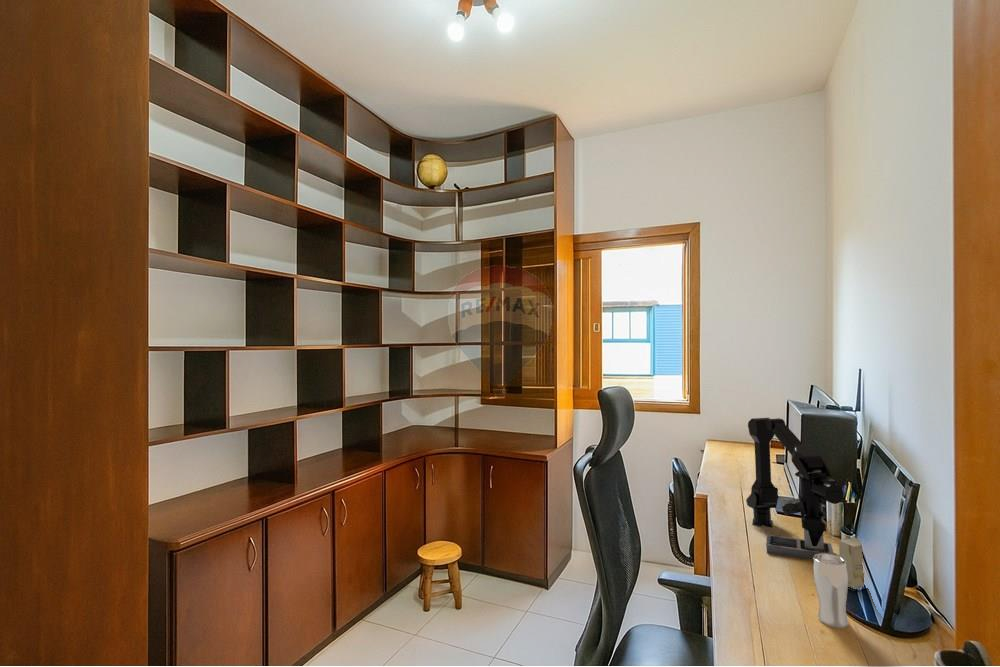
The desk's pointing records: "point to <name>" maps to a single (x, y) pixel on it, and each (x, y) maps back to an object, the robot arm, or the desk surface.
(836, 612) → the beer glass
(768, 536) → the two-cubby grey shelf
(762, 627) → the desk surface
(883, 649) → the desk surface
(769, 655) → the desk surface
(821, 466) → the robot arm
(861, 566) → the skincare box
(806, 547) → the knobbed drawer box
